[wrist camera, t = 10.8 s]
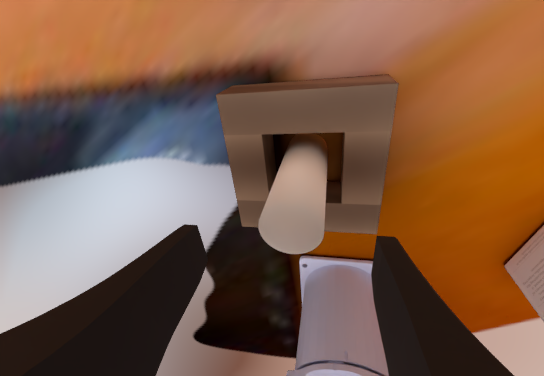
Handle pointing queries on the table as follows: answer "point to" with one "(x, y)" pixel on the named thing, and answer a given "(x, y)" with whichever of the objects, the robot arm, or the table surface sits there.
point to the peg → (297, 197)
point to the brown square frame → (312, 119)
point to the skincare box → (530, 271)
